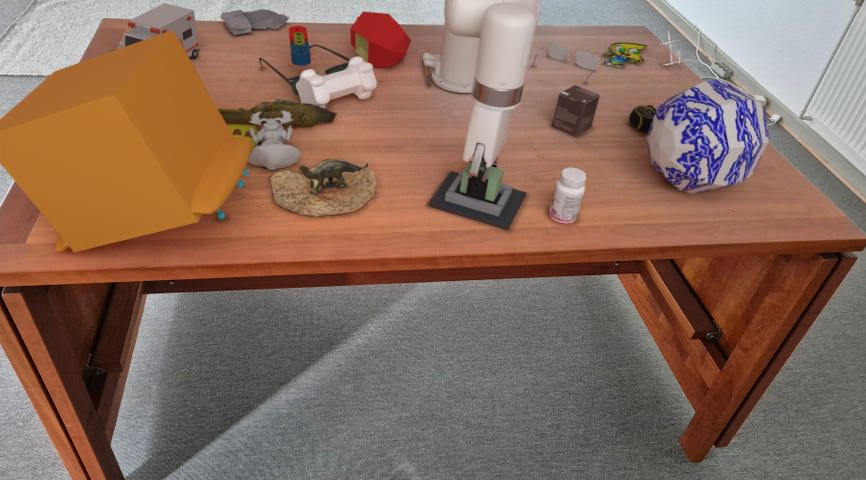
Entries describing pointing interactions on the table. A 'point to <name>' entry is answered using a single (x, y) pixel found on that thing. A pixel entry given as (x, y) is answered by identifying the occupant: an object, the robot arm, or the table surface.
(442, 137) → the table surface
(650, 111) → the tape measure
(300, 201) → the dinosaur figurine
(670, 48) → the airplane model
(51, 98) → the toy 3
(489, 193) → the green rectangular block
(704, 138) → the ornament
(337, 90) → the dog bone
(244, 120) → the olive long flat piece
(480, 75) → the robot arm
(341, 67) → the sunglasses
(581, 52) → the eyeglasses
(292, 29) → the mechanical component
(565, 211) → the pill bottle
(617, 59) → the toy
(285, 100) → the circuit board
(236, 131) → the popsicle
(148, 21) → the toy vehicle
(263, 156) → the figurine
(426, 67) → the pen
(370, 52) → the red angular block
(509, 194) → the base
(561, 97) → the box
